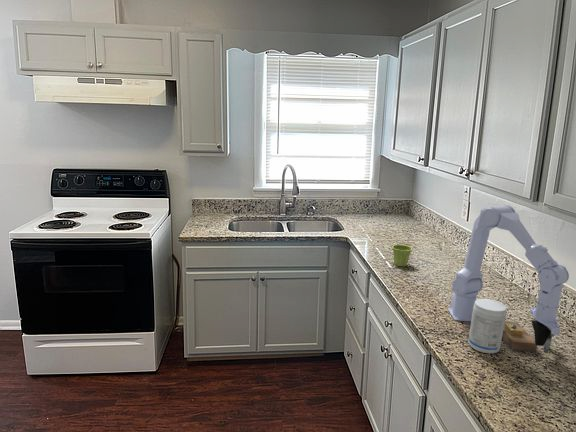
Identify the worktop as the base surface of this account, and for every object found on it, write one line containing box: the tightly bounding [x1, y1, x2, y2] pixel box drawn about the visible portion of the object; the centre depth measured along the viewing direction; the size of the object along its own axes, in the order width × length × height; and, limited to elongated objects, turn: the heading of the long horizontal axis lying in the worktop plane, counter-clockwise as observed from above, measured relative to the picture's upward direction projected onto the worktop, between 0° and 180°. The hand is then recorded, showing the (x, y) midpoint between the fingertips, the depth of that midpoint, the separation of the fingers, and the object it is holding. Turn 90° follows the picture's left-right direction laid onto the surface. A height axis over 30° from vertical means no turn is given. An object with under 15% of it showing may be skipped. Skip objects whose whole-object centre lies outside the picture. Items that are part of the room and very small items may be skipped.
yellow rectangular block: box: [504, 323, 523, 336], centre depth 149 cm, size 5×4×2 cm
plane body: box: [502, 320, 538, 353], centre depth 150 cm, size 15×8×3 cm, turn 176°
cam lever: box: [542, 334, 555, 354], centre depth 142 cm, size 2×12×6 cm, turn 146°
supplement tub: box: [467, 298, 508, 354], centre depth 143 cm, size 10×10×15 cm
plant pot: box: [391, 244, 413, 267], centre depth 219 cm, size 9×9×9 cm
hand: (539, 344), depth 141 cm, fingers closed
